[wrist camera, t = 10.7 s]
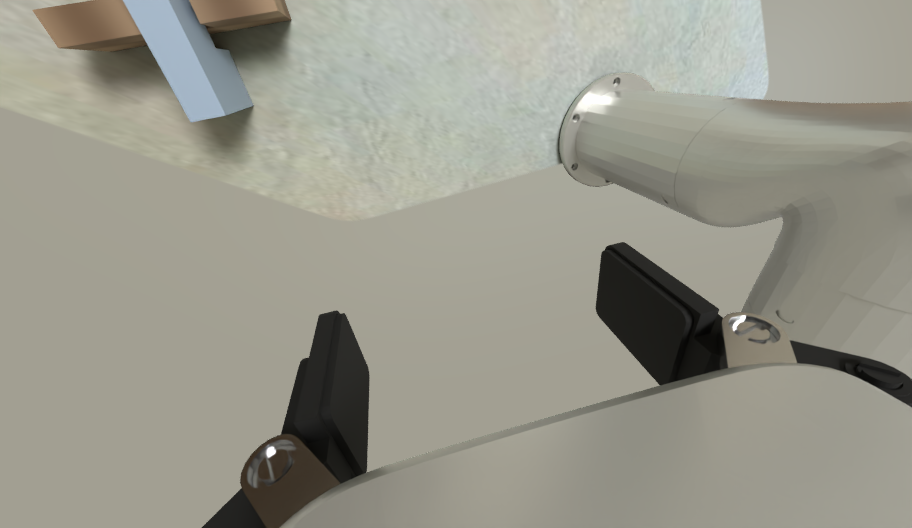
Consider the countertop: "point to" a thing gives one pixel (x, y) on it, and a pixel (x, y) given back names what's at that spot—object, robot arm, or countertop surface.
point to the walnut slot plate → (112, 27)
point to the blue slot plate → (190, 59)
